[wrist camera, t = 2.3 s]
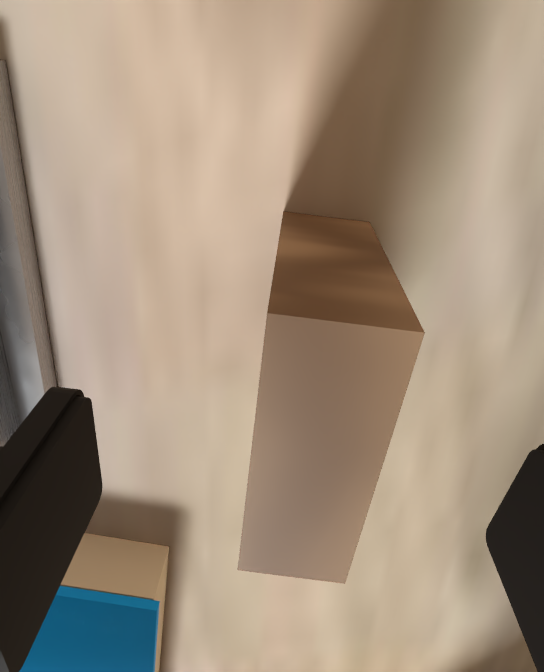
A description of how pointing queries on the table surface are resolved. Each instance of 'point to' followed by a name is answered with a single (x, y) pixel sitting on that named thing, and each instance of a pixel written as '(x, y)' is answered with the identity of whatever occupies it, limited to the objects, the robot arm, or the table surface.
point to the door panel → (324, 397)
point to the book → (105, 610)
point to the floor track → (18, 287)
